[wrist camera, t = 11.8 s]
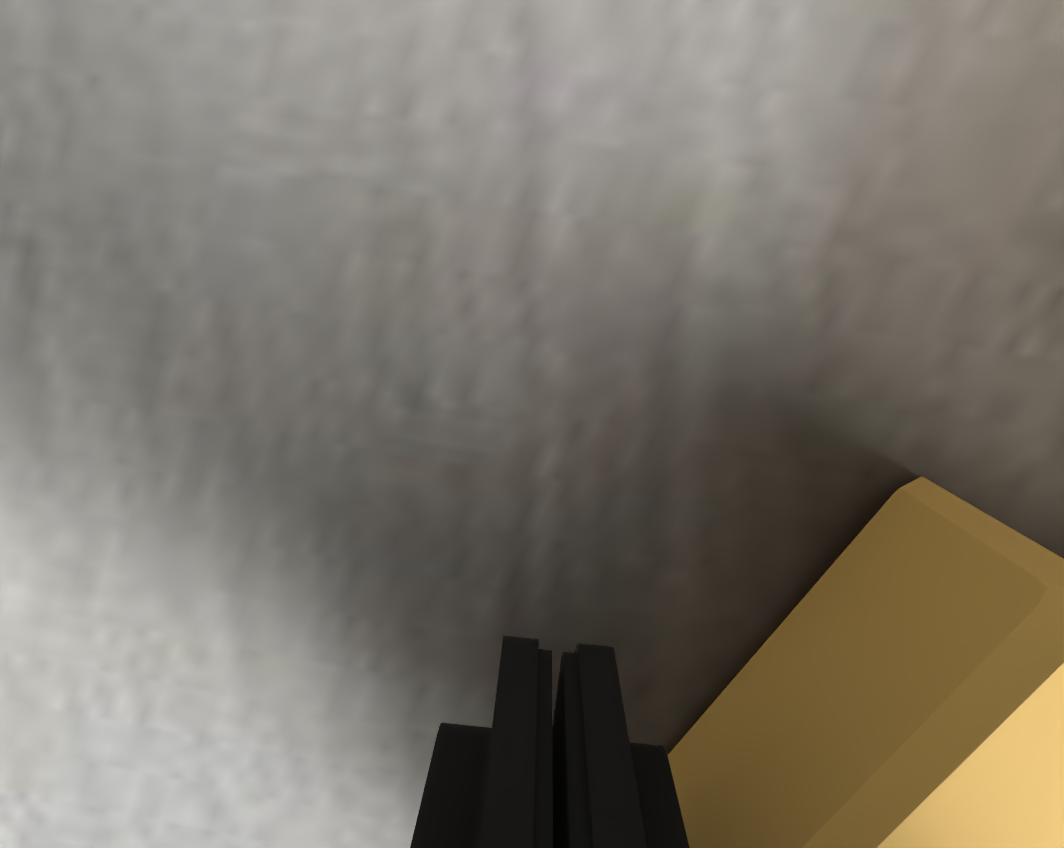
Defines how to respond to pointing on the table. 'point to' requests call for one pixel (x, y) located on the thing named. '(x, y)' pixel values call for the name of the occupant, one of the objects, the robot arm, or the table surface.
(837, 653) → the rubber stamp
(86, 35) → the table surface
